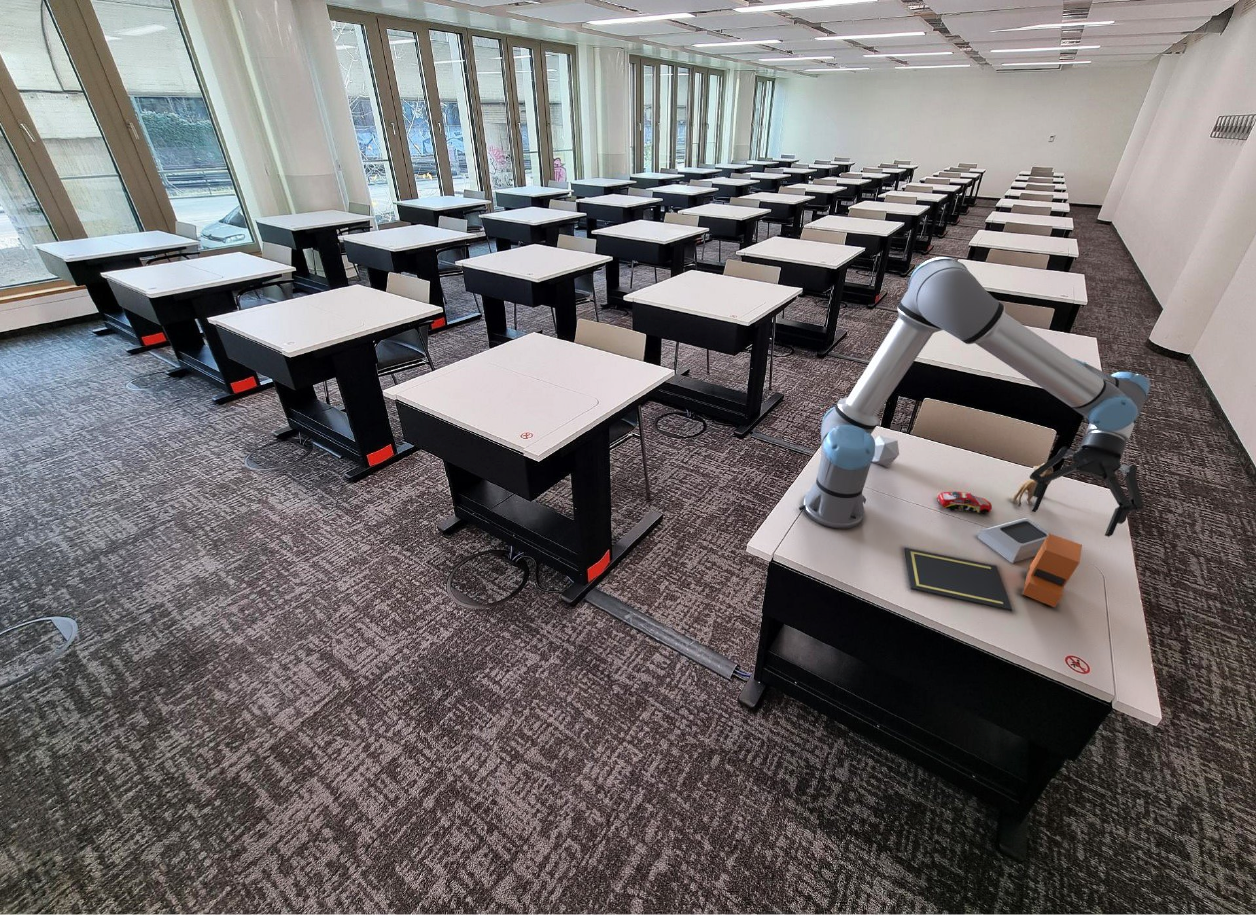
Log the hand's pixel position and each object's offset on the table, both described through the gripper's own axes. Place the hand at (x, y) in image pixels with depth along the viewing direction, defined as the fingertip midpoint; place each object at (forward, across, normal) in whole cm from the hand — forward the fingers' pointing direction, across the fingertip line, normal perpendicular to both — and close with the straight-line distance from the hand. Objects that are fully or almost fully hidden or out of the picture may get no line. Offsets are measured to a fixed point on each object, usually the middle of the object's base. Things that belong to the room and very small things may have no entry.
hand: (1070, 522), depth 119 cm
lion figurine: (-11, +7, -30) cm, 33 cm away
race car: (+1, +20, -18) cm, 27 cm away
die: (-6, +45, -25) cm, 51 cm away
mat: (+22, +16, +3) cm, 27 cm away
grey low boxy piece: (+6, +6, -13) cm, 16 cm away
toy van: (+17, 0, -2) cm, 17 cm away
